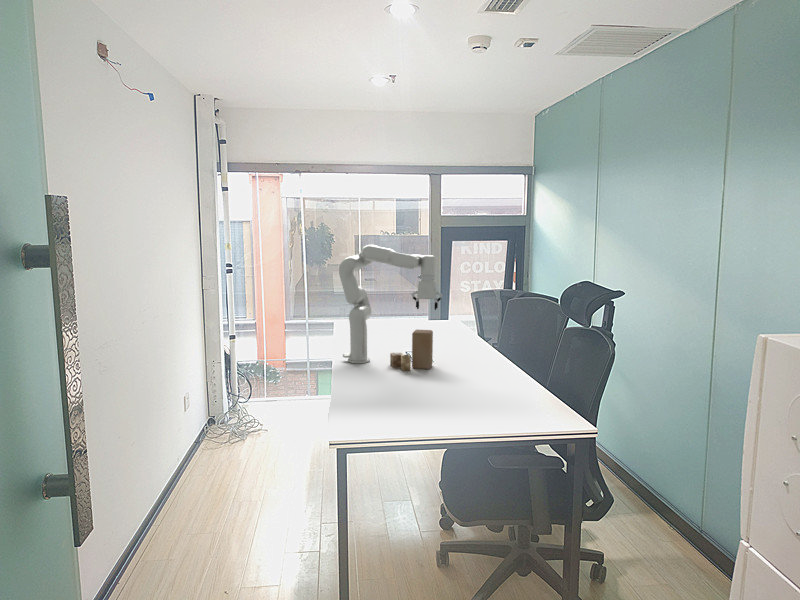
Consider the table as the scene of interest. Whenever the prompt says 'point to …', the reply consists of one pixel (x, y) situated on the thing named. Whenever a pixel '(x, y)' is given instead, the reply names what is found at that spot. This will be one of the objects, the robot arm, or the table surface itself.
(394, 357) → the walnut block
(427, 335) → the block
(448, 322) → the table surface
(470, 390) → the table surface
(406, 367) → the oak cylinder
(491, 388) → the table surface
